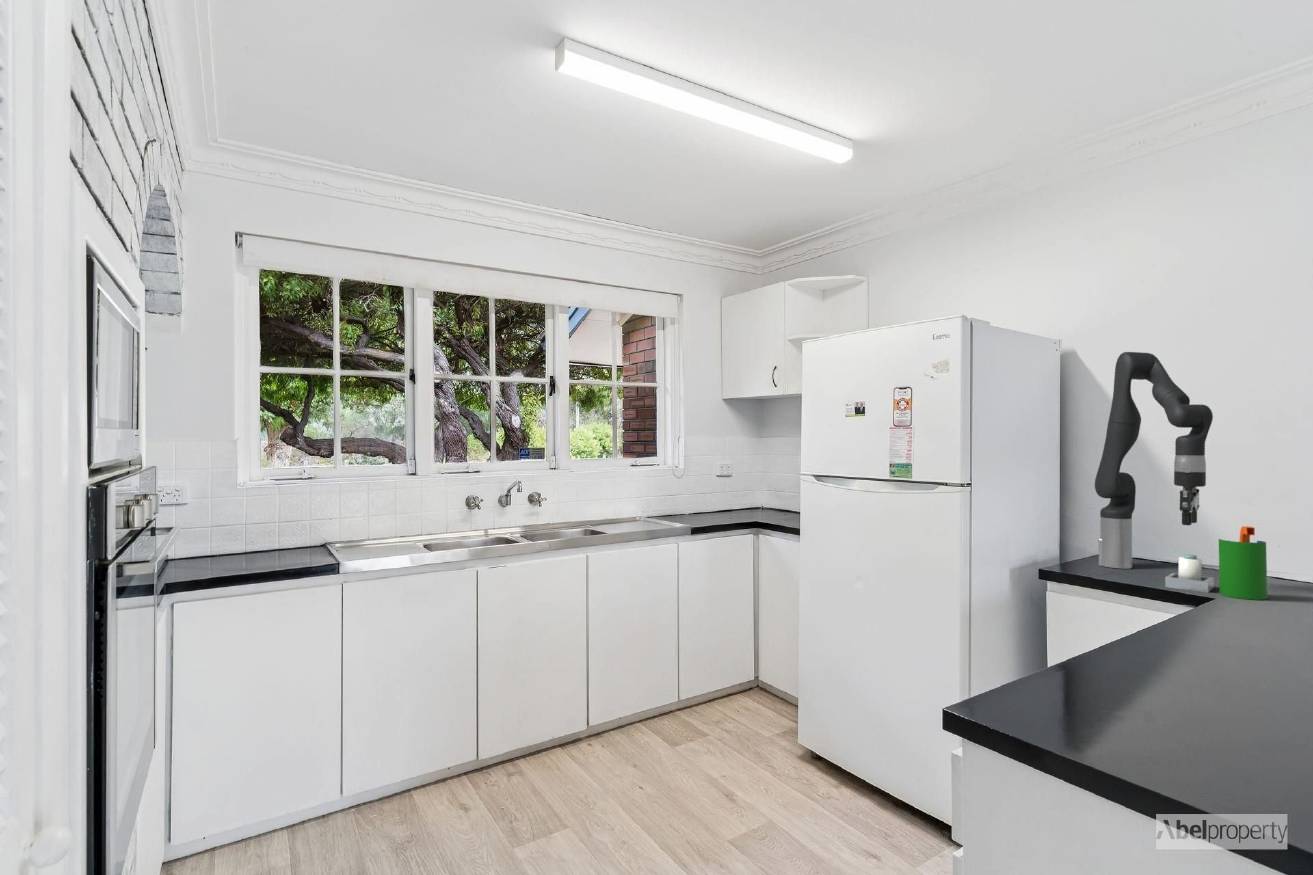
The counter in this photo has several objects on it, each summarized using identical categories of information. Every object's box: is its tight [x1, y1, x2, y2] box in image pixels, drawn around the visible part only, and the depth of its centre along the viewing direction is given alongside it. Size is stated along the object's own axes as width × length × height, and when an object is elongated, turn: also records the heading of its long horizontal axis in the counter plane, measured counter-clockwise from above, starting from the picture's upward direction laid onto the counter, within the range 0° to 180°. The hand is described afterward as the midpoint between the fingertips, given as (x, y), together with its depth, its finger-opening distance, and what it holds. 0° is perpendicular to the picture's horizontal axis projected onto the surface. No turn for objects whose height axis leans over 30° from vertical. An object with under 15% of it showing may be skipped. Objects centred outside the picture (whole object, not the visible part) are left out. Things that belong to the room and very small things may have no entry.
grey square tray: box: [1164, 572, 1215, 593], centre depth 201 cm, size 10×10×3 cm
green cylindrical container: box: [1218, 525, 1268, 601], centre depth 189 cm, size 10×9×20 cm
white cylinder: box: [1177, 553, 1203, 581], centre depth 201 cm, size 5×5×9 cm
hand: (1189, 523), depth 202 cm, fingers open, 8 cm apart
